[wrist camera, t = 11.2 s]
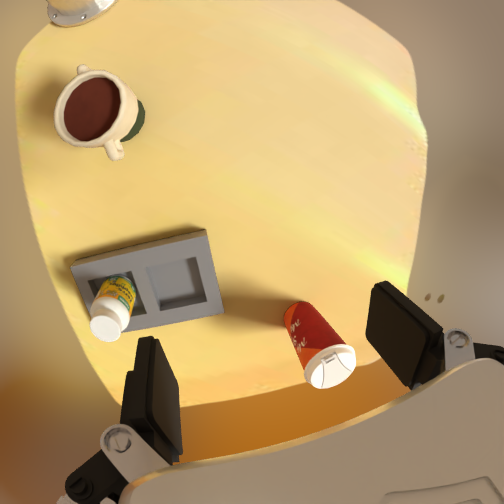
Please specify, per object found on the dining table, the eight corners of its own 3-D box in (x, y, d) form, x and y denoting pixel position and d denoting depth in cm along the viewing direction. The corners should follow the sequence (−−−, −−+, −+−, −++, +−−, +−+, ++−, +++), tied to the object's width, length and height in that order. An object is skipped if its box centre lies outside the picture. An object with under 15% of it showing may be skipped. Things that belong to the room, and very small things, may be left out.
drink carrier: (75, 260, 35) (69, 267, 32) (206, 229, 37) (207, 235, 35) (104, 326, 39) (100, 336, 37) (222, 303, 42) (224, 312, 40)
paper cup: (270, 309, 44) (300, 369, 32) (313, 288, 45) (355, 340, 32) (286, 340, 48) (314, 398, 35) (324, 320, 48) (362, 373, 35)
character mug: (86, 97, 27) (39, 80, 15) (134, 71, 27) (106, 38, 16) (113, 168, 32) (75, 182, 20) (162, 143, 32) (146, 142, 20)
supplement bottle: (97, 293, 37) (78, 332, 28) (111, 266, 36) (92, 302, 27) (127, 311, 39) (115, 353, 30) (143, 285, 38) (132, 325, 29)
